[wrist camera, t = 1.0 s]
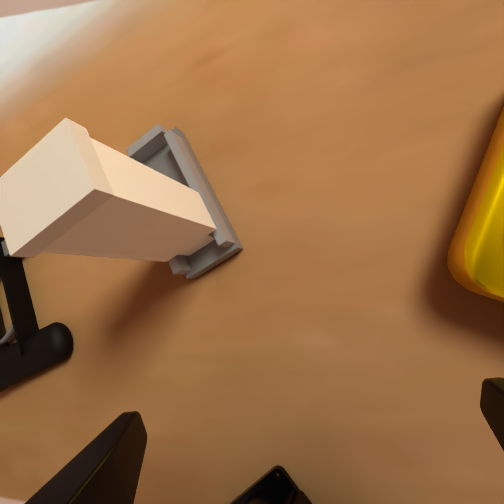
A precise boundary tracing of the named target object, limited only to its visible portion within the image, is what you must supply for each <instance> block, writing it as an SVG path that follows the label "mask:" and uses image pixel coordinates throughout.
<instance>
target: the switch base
mask: <svg viewBox="0 0 504 504" xmlns="http://www.w3.org/2000/svg"><path fill="white" fill-rule="evenodd" d="M126 150H127V152H128V154H129V157H131V158H133V159H135V161H137V162H139V163H141V164H143V165H145V166H147V167H149V168H151V169H153V170H155V171H157V172H159V173H161V174H163V175H165V176H167V177H169V178H171V179H173V180H175V181H177V182H179V183H181V184H183V185H185V186H187V187H189V188H191V189H193V190H195V191H197V192H199V194H200V196H201V198H202V200H203V202H204V204H205V206H206V208H207V210H208V212H209V214H210V216H211V218H212V220H213V222H214V224H215V226H216V228H217V229H216V230H214V231H213V232H212V233H213V235H214V238H215V240H213V241H212V242H210V243H209V244H207V245H206V246H204V247H202V248H201V249H199V250H198V251H196V252H195V253H193V254H192V255H190V256H186V255H176V256H175V257H173V258H172V259H170V260H169V261H168V263H169V265H170V268H171V270H172V272H173V274H184V275H185V276H186V278H187V279H195V278H197V277H198V276H200V275H202V274H203V273H205V272H207V271H208V270H210V269H211V268H213V267H215V266H216V265H218V264H219V263H221V262H223V261H224V260H226V259H228V258H229V257H231V256H232V255H234V254H236V253H237V252H239V251H241V250H242V249H243V248H242V246H241V244H240V242H239V240H238V238H237V236H236V234H235V232H234V230H233V228H232V226H231V224H230V222H229V220H228V218H227V216H226V215H225V213H224V211H223V209H222V207H221V205H220V203H219V201H218V199H217V197H216V195H215V193H214V191H213V189H212V187H211V185H210V183H209V181H208V180H207V178H206V176H205V174H204V172H203V170H202V168H201V166H200V164H199V162H198V160H197V158H196V156H195V154H194V152H193V150H192V148H191V147H190V145H189V143H188V141H187V139H186V137H185V135H184V133H183V132H182V131H180V130H179V129H178V128H177V127H175V128H174V129H173V130H169V131H168V130H166V129H165V128H164V127H162V126H161V125H160V124H157V125H155V126H154V127H153V128H152V129H150V130H149V131H148V132H147V133H146V134H144V135H143V136H142V137H141V138H139V139H138V140H137V141H136V142H135V143H133V144H132V145H131V146H130V147H128V148H127V149H126Z"/></svg>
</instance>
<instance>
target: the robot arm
mask: <svg viewBox="0 0 504 504" xmlns="http://www.w3.org/2000/svg"><path fill="white" fill-rule="evenodd" d="M480 408H481V411H482V413H483V415H484V417H485V419H486V421H487V422H488V424H489V426H490V428H491V429H492V431H493V433H494V435H495V436H496V438H497V440H498V442H499V444H500V445H501V447H502V449H503V451H504V378H500V377H498V378H488V379H484V381H483V382H482V390H481V399H480ZM146 444H147V432H146V429H145V427H144V424H143V421H142V418H141V415H140V413H139V412H137V411H133V412H124V413H122V414H121V415H120V416H119V417H118V418H116V419H115V420H114V421H113V422H112V423H111V424H110V425H109V426H108V427H107V428H106V429H105V430H104V431H102V432H101V433H100V434H99V435H98V436H97V437H96V438H95V439H94V440H93V441H92V442H91V443H89V444H88V445H87V446H86V447H85V448H84V449H83V450H82V451H81V452H80V453H79V454H78V455H76V456H75V457H74V458H73V459H72V460H71V461H70V462H69V463H68V464H67V465H66V466H65V467H63V468H62V469H61V470H60V471H59V472H58V473H57V474H56V475H55V476H54V477H53V478H52V479H51V480H49V481H48V482H47V483H46V484H45V485H44V486H43V487H42V488H41V489H40V490H39V491H38V492H36V493H35V494H34V495H33V496H32V497H31V498H30V499H29V500H28V501H27V502H26V503H25V504H133V502H134V498H135V494H136V489H137V485H138V480H139V476H140V471H141V467H142V462H143V457H144V453H145V448H146ZM276 472H278V473H280V474H281V477H279V476H277V474H276ZM230 504H312V503H311V502H310V500H309V499H308V498H307V496H306V495H305V494H304V492H303V491H301V490H300V489H299V488H298V487H297V485H296V484H295V483H294V481H293V480H292V479H291V477H290V476H289V475H288V473H287V472H286V471H285V469H284V468H283V467H281V466H275V467H274V468H272V469H271V470H270V471H269V472H268V473H266V474H265V475H264V476H263V477H261V478H260V479H259V480H258V481H257V482H255V483H254V484H253V485H252V486H251V487H249V488H248V489H247V490H246V491H245V492H243V493H242V494H241V495H240V496H239V497H237V498H236V499H235V500H234V501H233V502H231V503H230Z"/></svg>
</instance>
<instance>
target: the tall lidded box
mask: <svg viewBox="0 0 504 504" xmlns="http://www.w3.org/2000/svg"><path fill="white" fill-rule="evenodd" d="M0 225H1V228H2V231H3V234H4V238H5V241H6V244H7V247H8V251H9V254H10V256H15V257H32V258H34V257H35V256H36V255H38V254H39V253H40V252H46V253H59V254H71V255H84V256H96V257H109V258H122V259H134V260H147V261H160V262H167V261H169V260H170V259H172V258H173V257H175V256H176V255H186V256H190V255H192V254H193V253H195V252H196V251H198V250H199V249H201V248H202V247H204V246H206V245H207V244H209V243H210V242H212V241H213V240H215V238H214V235H213V233H212V232H213V231H214V230H216V229H217V228H216V226H215V224H214V222H213V220H212V218H211V216H210V214H209V212H208V210H207V208H206V206H205V204H204V202H203V200H202V198H201V196H200V194H199V192H197V191H195V190H193V189H191V188H189V187H187V186H185V185H183V184H181V183H179V182H177V181H175V180H173V179H171V178H169V177H167V176H165V175H163V174H161V173H159V172H157V171H155V170H153V169H151V168H149V167H147V166H145V165H143V164H141V163H139V162H137V161H135V160H133V159H132V158H130V157H128V156H126V155H124V154H122V153H120V152H118V151H116V150H114V149H112V148H110V147H108V146H106V145H104V144H102V143H100V142H98V141H96V140H94V139H92V138H90V137H89V134H88V132H87V130H86V128H84V127H82V126H81V125H79V124H77V123H75V122H73V121H71V120H69V119H67V118H65V119H64V120H62V121H61V122H60V123H59V124H58V125H57V126H56V127H55V128H54V129H53V130H52V131H50V132H49V133H48V134H47V135H46V136H45V137H44V138H43V139H42V140H41V141H40V142H38V143H37V144H36V145H35V146H34V147H33V148H32V149H31V150H30V151H29V152H28V153H26V154H25V155H24V156H23V157H22V158H21V159H20V160H19V161H18V162H17V163H16V164H14V165H13V166H12V167H11V168H10V169H9V170H8V171H7V172H6V173H5V174H4V175H2V176H1V177H0Z"/></svg>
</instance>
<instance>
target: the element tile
mask: <svg viewBox="0 0 504 504" xmlns="http://www.w3.org/2000/svg"><path fill="white" fill-rule="evenodd" d="M447 263H448V270H449V272H450V274H451V275H452V277H453V279H454V280H455V281H456V282H458V283H459V284H460V285H461V286H463V287H464V288H466V289H467V290H469V291H471V292H474V293H477V294H480V295H483V296H486V297H489V298H492V299H495V300H498V301H501V302H504V107H503V109H502V112H501V114H500V117H499V120H498V122H497V125H496V127H495V130H494V133H493V135H492V138H491V140H490V143H489V145H488V148H487V151H486V153H485V156H484V158H483V161H482V164H481V166H480V169H479V171H478V174H477V177H476V179H475V182H474V184H473V187H472V189H471V192H470V195H469V197H468V200H467V202H466V205H465V208H464V210H463V213H462V215H461V218H460V221H459V223H458V226H457V228H456V231H455V233H454V236H453V239H452V241H451V244H450V246H449V250H448V255H447Z"/></svg>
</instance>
